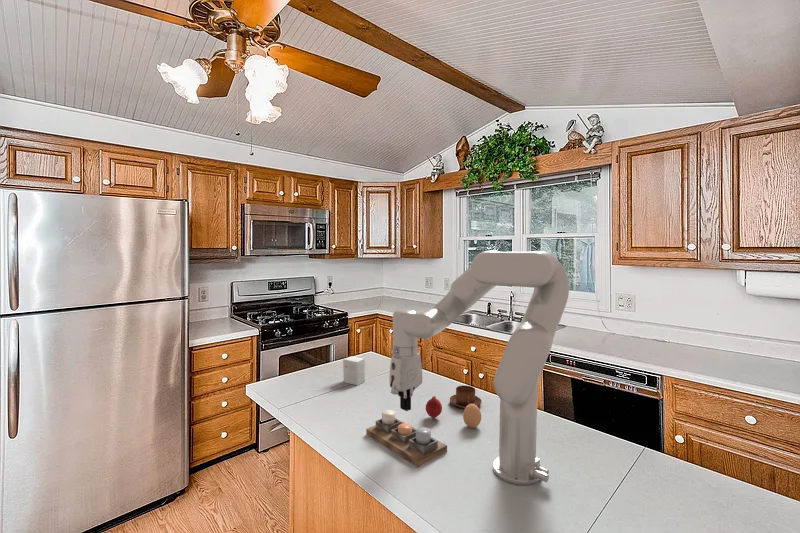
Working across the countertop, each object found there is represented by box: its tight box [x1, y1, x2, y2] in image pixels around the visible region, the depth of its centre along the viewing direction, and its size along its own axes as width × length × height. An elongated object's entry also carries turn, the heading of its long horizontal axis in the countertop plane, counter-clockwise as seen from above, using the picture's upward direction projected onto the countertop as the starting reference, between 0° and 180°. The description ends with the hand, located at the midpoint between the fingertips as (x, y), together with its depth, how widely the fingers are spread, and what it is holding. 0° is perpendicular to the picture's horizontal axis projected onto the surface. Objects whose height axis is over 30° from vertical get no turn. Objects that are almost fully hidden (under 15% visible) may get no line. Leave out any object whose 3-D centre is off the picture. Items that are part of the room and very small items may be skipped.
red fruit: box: [425, 395, 443, 419], centre depth 137 cm, size 6×6×8 cm
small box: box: [342, 355, 366, 386], centre depth 172 cm, size 8×6×10 cm
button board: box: [365, 417, 448, 468], centre depth 120 cm, size 24×12×4 cm, turn 41°
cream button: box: [381, 409, 396, 425], centre depth 126 cm, size 4×4×3 cm
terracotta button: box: [398, 422, 413, 436], centre depth 120 cm, size 4×4×3 cm
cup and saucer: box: [449, 385, 482, 409], centre depth 149 cm, size 12×12×6 cm
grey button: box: [415, 427, 432, 445], centre depth 113 cm, size 4×4×3 cm
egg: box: [462, 404, 482, 429], centre depth 130 cm, size 6×6×8 cm
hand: (405, 408), depth 119 cm, fingers closed
